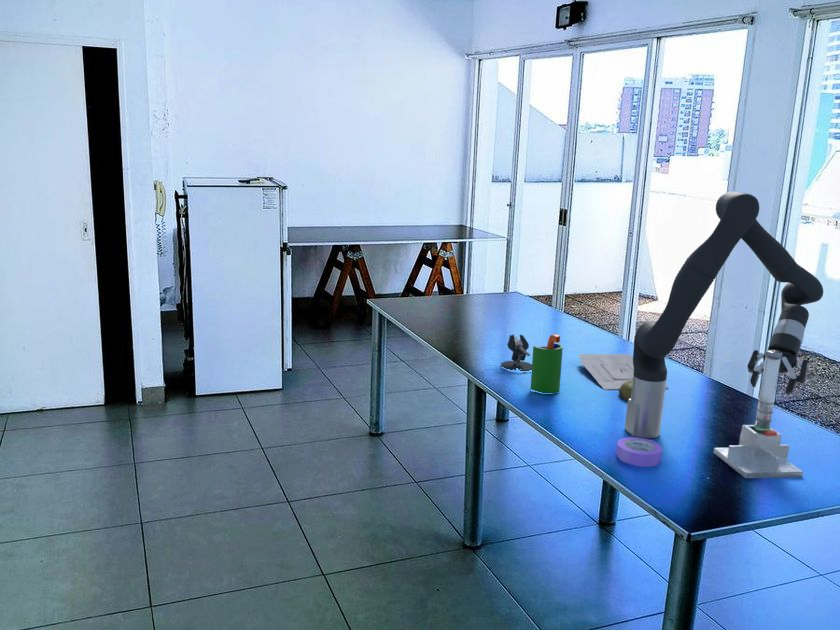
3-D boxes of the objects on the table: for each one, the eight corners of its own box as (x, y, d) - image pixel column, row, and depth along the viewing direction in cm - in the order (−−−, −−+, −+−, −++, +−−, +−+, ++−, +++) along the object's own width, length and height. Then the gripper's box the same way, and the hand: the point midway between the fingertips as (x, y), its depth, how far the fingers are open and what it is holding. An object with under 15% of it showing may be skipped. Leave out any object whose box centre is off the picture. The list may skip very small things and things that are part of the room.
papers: (632, 360, 292) (634, 351, 291) (668, 395, 265) (669, 386, 263) (572, 361, 288) (574, 352, 287) (602, 396, 261) (603, 387, 259)
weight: (652, 392, 260) (654, 378, 259) (666, 405, 247) (667, 391, 246) (613, 391, 260) (615, 377, 259) (625, 404, 247) (626, 390, 246)
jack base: (744, 479, 195) (750, 439, 192) (710, 452, 211) (716, 415, 208) (805, 477, 197) (811, 438, 194) (767, 450, 213) (773, 414, 211)
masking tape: (607, 456, 205) (609, 443, 204) (630, 446, 213) (631, 433, 212) (646, 471, 197) (648, 457, 196) (668, 459, 205) (670, 446, 204)
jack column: (758, 438, 200) (771, 354, 194) (749, 432, 204) (762, 349, 198) (772, 438, 200) (785, 354, 195) (763, 432, 204) (776, 349, 199)
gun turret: (512, 379, 267) (515, 344, 264) (495, 362, 286) (497, 329, 283) (546, 378, 270) (549, 343, 267) (526, 362, 288) (529, 329, 285)
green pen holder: (542, 383, 263) (546, 328, 259) (564, 390, 258) (570, 333, 253) (526, 390, 256) (531, 333, 251) (549, 397, 250) (554, 338, 246)
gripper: (758, 327, 209) (741, 376, 202) (814, 336, 200) (798, 388, 194) (760, 342, 214) (743, 390, 208) (815, 352, 206) (800, 402, 200)
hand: (770, 389), depth 201 cm, fingers open, 8 cm apart
